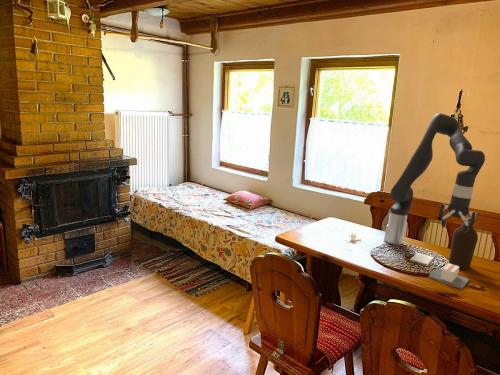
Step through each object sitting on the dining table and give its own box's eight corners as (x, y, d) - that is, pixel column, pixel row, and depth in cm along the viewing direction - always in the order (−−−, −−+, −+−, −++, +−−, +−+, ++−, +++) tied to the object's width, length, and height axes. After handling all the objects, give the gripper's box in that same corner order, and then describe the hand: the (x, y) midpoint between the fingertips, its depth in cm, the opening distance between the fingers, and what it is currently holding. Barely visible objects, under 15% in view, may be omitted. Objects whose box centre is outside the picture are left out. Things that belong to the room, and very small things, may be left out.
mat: (428, 277, 169) (428, 275, 169) (436, 270, 178) (436, 268, 178) (461, 289, 160) (462, 287, 160) (468, 280, 169) (469, 279, 169)
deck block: (446, 273, 174) (448, 262, 172) (457, 276, 171) (459, 266, 169) (440, 278, 167) (442, 268, 166) (451, 282, 164) (453, 271, 163)
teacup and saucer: (360, 239, 212) (361, 232, 211) (362, 244, 205) (363, 237, 204) (344, 238, 213) (345, 231, 212) (346, 243, 205) (347, 236, 204)
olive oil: (461, 271, 179) (472, 222, 173) (442, 262, 188) (452, 215, 182) (475, 268, 183) (487, 220, 177) (456, 259, 193) (466, 213, 187)
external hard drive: (409, 262, 186) (416, 255, 196) (427, 267, 182) (433, 260, 191) (410, 259, 186) (417, 252, 196) (427, 264, 181) (433, 257, 191)
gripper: (482, 198, 160) (473, 233, 164) (446, 190, 169) (439, 223, 173) (478, 200, 155) (469, 237, 159) (441, 192, 164) (434, 227, 168)
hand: (453, 230), depth 166 cm, fingers open, 8 cm apart
